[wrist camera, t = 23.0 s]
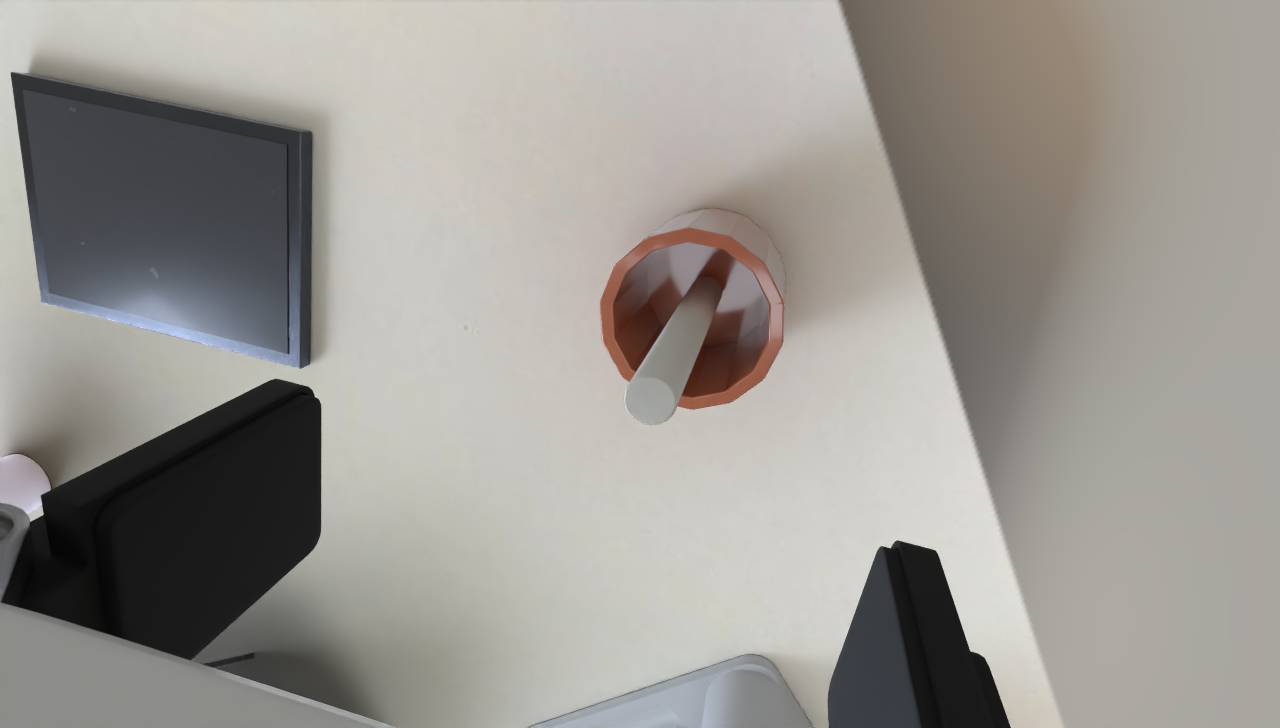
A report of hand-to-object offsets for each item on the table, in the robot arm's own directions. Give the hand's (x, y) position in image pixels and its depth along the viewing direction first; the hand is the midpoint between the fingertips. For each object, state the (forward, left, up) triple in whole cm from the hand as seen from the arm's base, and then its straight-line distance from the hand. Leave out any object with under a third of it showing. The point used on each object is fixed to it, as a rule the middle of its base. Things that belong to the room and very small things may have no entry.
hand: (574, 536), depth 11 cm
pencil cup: (0, 0, -22) cm, 22 cm away
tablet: (+3, -28, -22) cm, 36 cm away
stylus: (0, 0, -21) cm, 21 cm away
